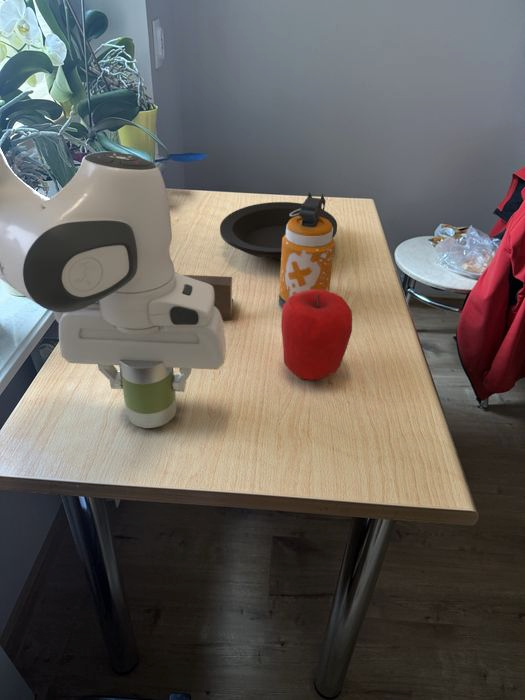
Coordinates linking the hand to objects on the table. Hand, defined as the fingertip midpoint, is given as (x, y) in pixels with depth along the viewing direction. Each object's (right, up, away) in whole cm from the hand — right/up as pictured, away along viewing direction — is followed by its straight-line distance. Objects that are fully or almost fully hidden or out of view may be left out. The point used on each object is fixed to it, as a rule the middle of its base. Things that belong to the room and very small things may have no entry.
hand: (149, 387), depth 70 cm
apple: (+22, +2, +12) cm, 25 cm away
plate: (+18, +27, +47) cm, 57 cm away
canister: (+23, +14, +28) cm, 39 cm away
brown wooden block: (0, +12, +25) cm, 28 cm away
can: (0, -3, +2) cm, 4 cm away
